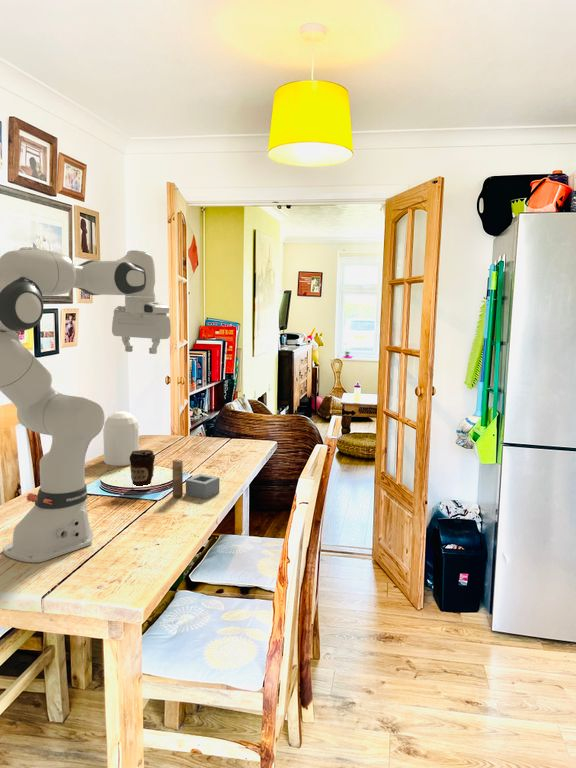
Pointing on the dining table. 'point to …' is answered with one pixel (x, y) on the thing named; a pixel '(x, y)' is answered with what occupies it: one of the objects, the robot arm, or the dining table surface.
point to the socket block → (202, 486)
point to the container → (120, 438)
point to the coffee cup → (142, 467)
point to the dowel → (177, 479)
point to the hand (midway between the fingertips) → (140, 352)
